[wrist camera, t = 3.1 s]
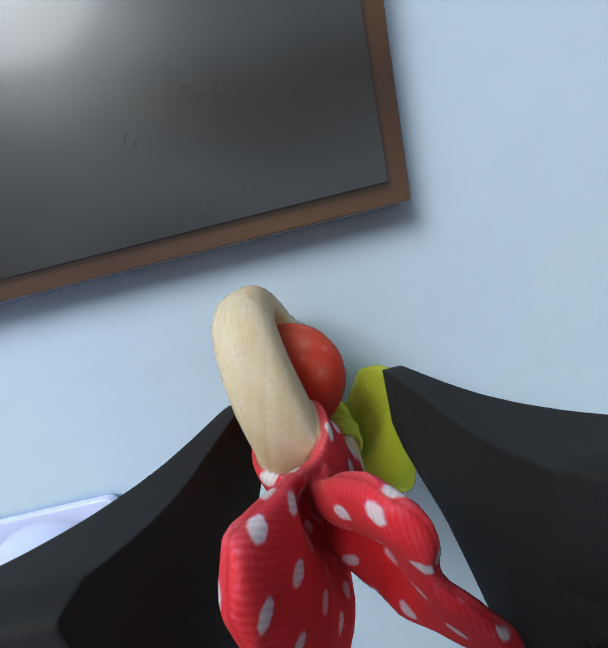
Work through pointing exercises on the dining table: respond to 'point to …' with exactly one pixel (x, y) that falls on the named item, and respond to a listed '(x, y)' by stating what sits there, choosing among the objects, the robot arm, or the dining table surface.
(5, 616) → the robot arm
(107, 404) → the dining table surface
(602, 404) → the dining table surface
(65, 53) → the desk board
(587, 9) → the dining table surface
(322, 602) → the bird rattle
